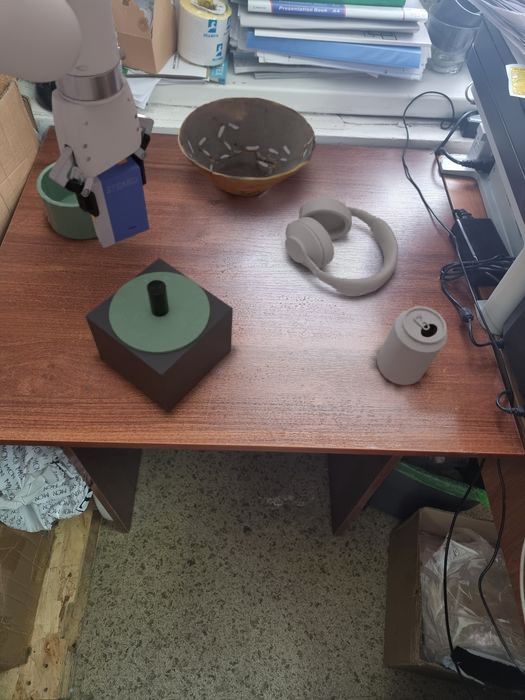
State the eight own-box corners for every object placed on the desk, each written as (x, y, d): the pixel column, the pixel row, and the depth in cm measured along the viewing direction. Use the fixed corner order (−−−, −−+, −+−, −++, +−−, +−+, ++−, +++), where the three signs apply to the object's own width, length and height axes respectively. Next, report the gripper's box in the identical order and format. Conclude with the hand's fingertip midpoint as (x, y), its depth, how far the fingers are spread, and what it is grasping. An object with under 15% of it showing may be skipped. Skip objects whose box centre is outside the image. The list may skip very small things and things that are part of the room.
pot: (81, 250, 88) (71, 217, 81) (34, 216, 91) (20, 182, 85) (133, 213, 93) (127, 180, 87) (87, 182, 97) (78, 148, 90)
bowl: (312, 150, 107) (321, 106, 99) (300, 232, 94) (309, 189, 86) (196, 131, 108) (194, 85, 99) (167, 210, 94) (163, 165, 86)
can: (400, 396, 77) (428, 355, 67) (365, 362, 80) (387, 318, 70) (432, 370, 80) (463, 327, 70) (397, 339, 83) (422, 293, 73)
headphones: (265, 264, 88) (366, 321, 87) (274, 235, 81) (384, 295, 80) (308, 203, 97) (400, 253, 96) (320, 172, 91) (419, 225, 89)
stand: (168, 413, 73) (161, 375, 63) (100, 358, 76) (84, 315, 67) (231, 350, 79) (233, 308, 70) (165, 303, 83) (159, 257, 74)
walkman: (141, 218, 80) (130, 153, 70) (149, 229, 79) (139, 165, 69) (95, 237, 78) (76, 172, 67) (103, 248, 76) (85, 184, 66)
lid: (161, 372, 64) (157, 350, 59) (88, 315, 67) (79, 290, 63) (230, 308, 70) (231, 283, 65) (159, 259, 73) (155, 233, 69)
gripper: (122, 35, 62) (140, 155, 77) (2, 92, 54) (47, 214, 69) (166, 58, 60) (176, 178, 75) (48, 121, 52) (85, 241, 67)
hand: (114, 195), depth 72 cm, fingers closed on walkman, 8 cm apart
